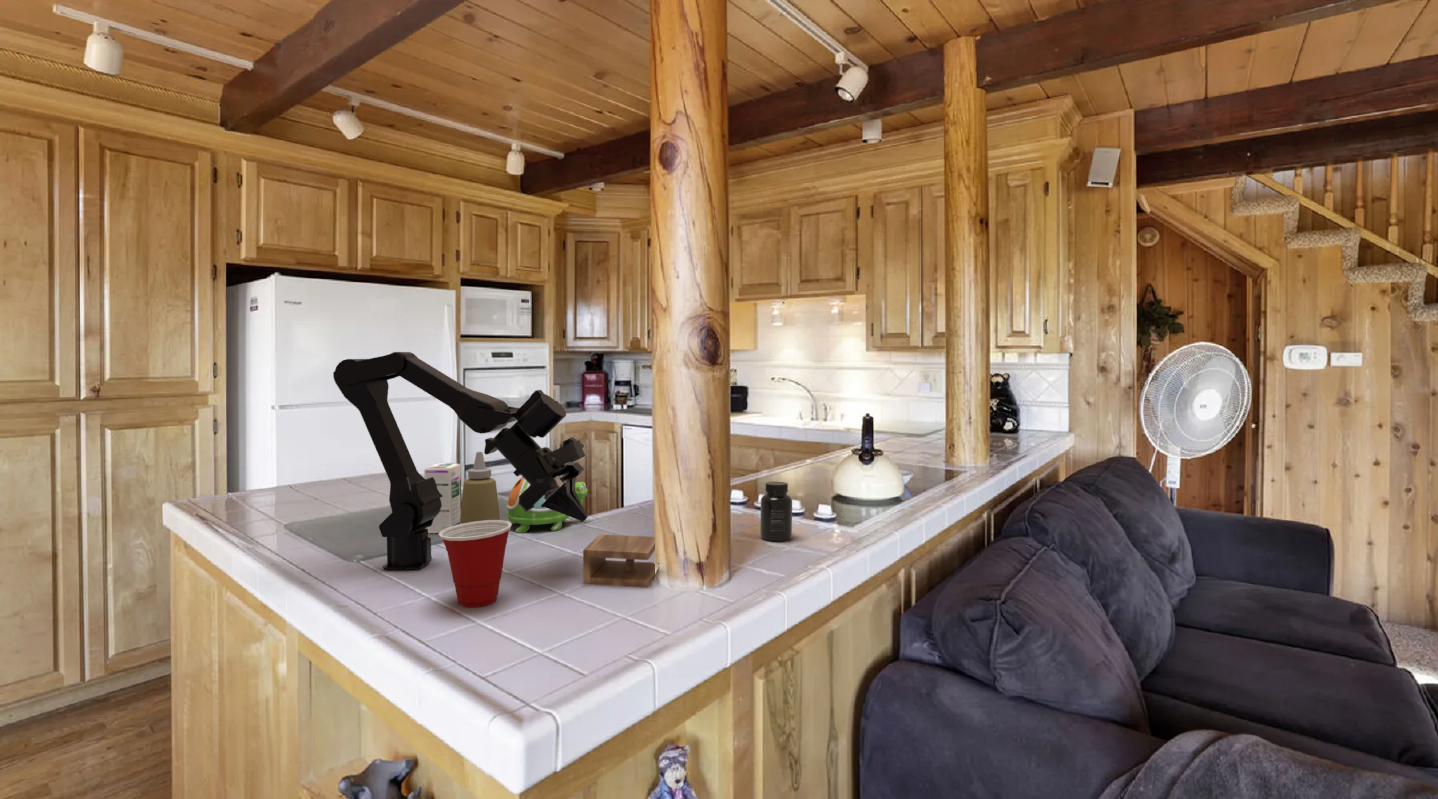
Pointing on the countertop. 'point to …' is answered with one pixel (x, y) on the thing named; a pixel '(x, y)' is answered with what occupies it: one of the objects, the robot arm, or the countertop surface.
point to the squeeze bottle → (479, 494)
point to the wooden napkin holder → (619, 571)
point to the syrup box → (446, 494)
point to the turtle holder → (537, 508)
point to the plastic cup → (476, 559)
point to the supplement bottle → (776, 513)
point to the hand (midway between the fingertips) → (585, 519)
